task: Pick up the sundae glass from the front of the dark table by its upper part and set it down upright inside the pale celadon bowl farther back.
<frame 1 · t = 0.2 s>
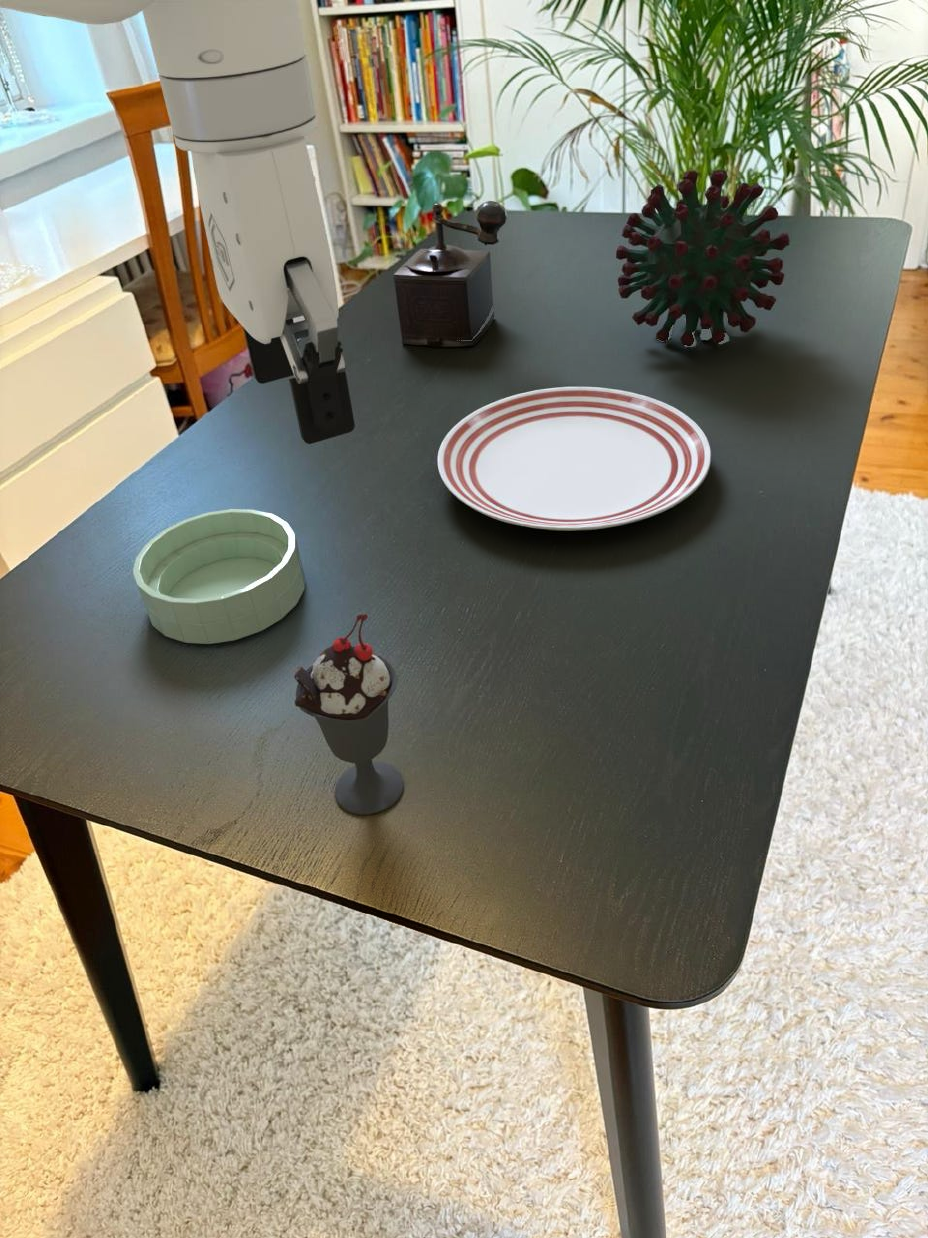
hand: (303, 404, 61), 25 cm above the table, tool pointing down, fingers open, 9 cm apart
virus model: (695, 342, 123), on the table
coffee grinder: (465, 334, 131), on the table
sundae: (370, 789, 70), on the table
dinner plate: (572, 476, 101), on the table
bowl: (228, 597, 89), on the table
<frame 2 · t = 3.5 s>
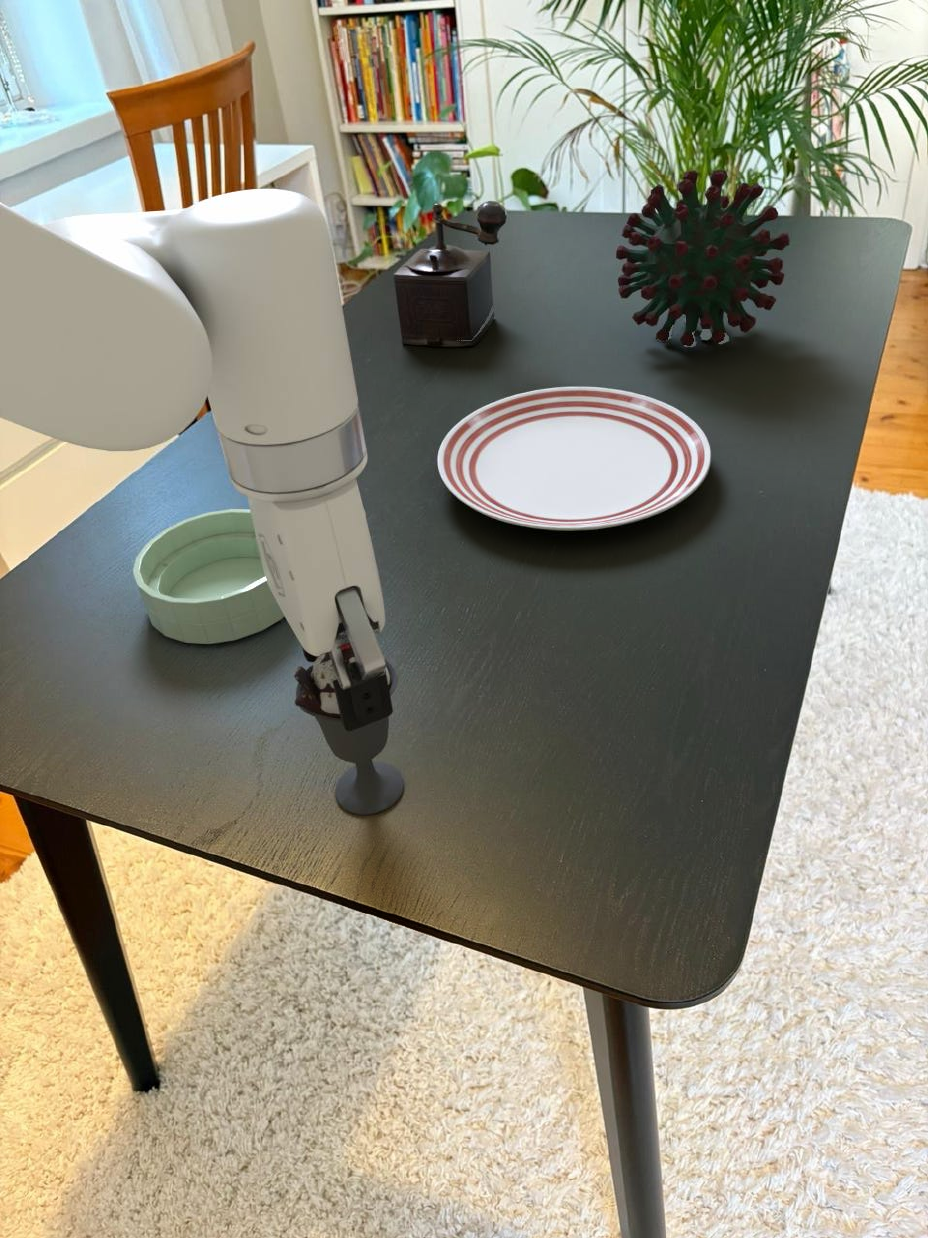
hand: (347, 684, 63), 10 cm above the table, tool pointing down, fingers closed on sundae, 6 cm apart
sundae: (370, 789, 70), on the table, touching gripper
everything else where it was.
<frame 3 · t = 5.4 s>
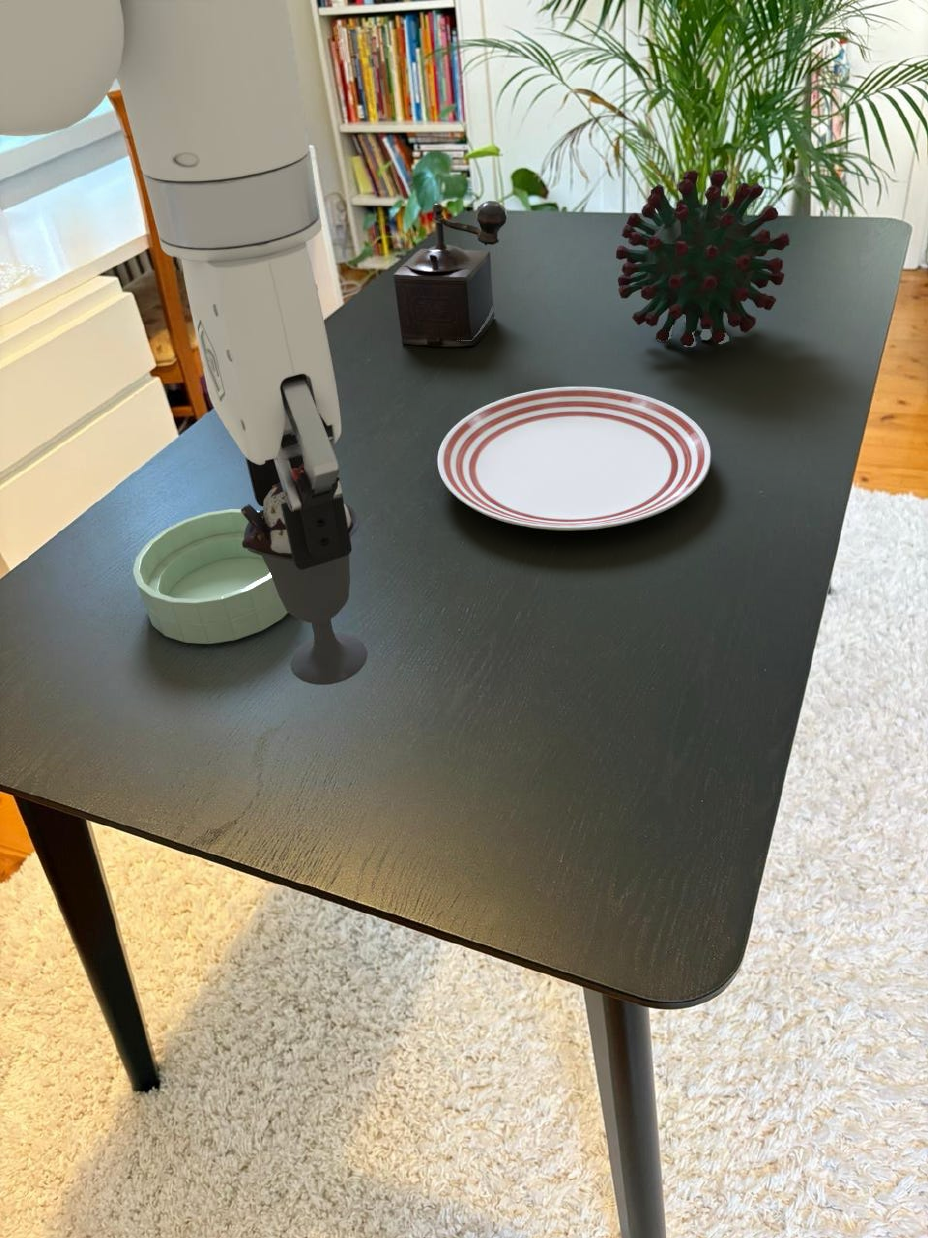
hand: (302, 525, 56), 22 cm above the table, tool pointing down, fingers closed on sundae, 6 cm apart
sundae: (330, 661, 62), point 12 cm above the table, touching gripper
everything else where it was.
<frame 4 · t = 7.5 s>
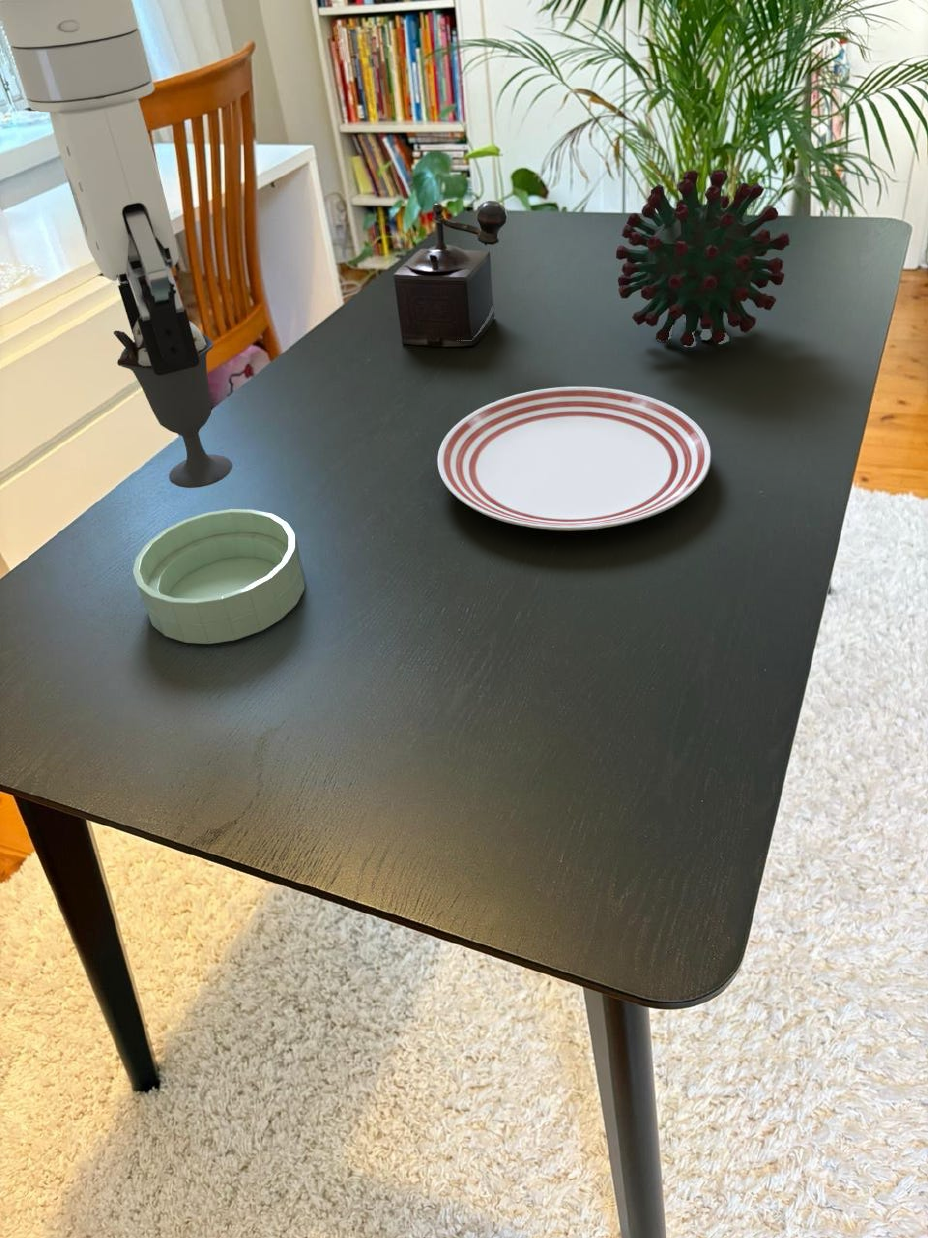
hand: (165, 349, 70), 25 cm above the table, tool pointing down, fingers closed on sundae, 6 cm apart
sundae: (202, 473, 76), point 15 cm above the table, touching gripper
everything else where it was.
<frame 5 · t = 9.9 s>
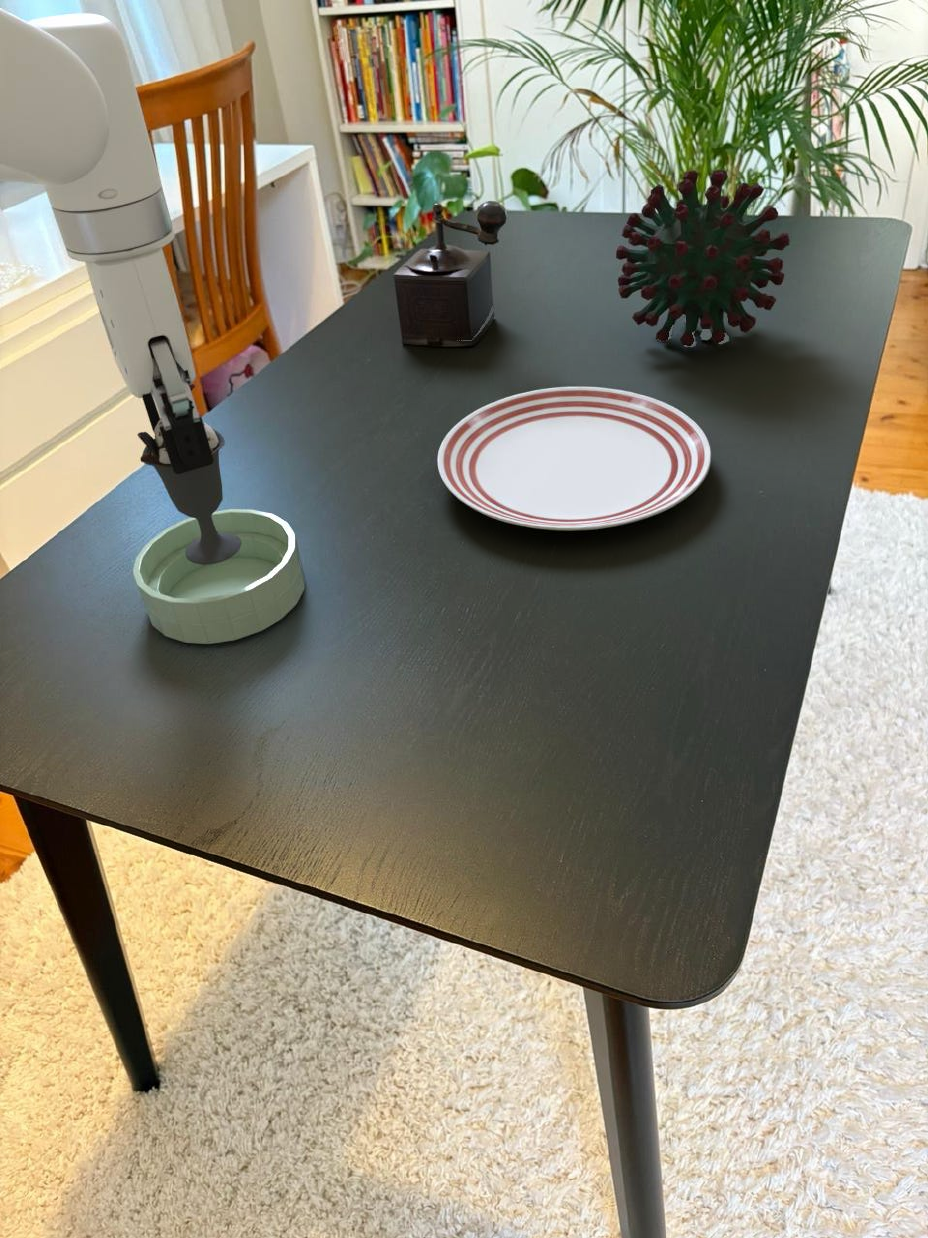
hand: (182, 446, 79), 16 cm above the table, tool pointing down, fingers closed on sundae, 6 cm apart
sundae: (214, 550, 86), point 5 cm above the table, touching gripper
everything else where it was.
when the fingers open (11 cm above the table, at t = 11.7 s): sundae stays where it is, resting on bowl.
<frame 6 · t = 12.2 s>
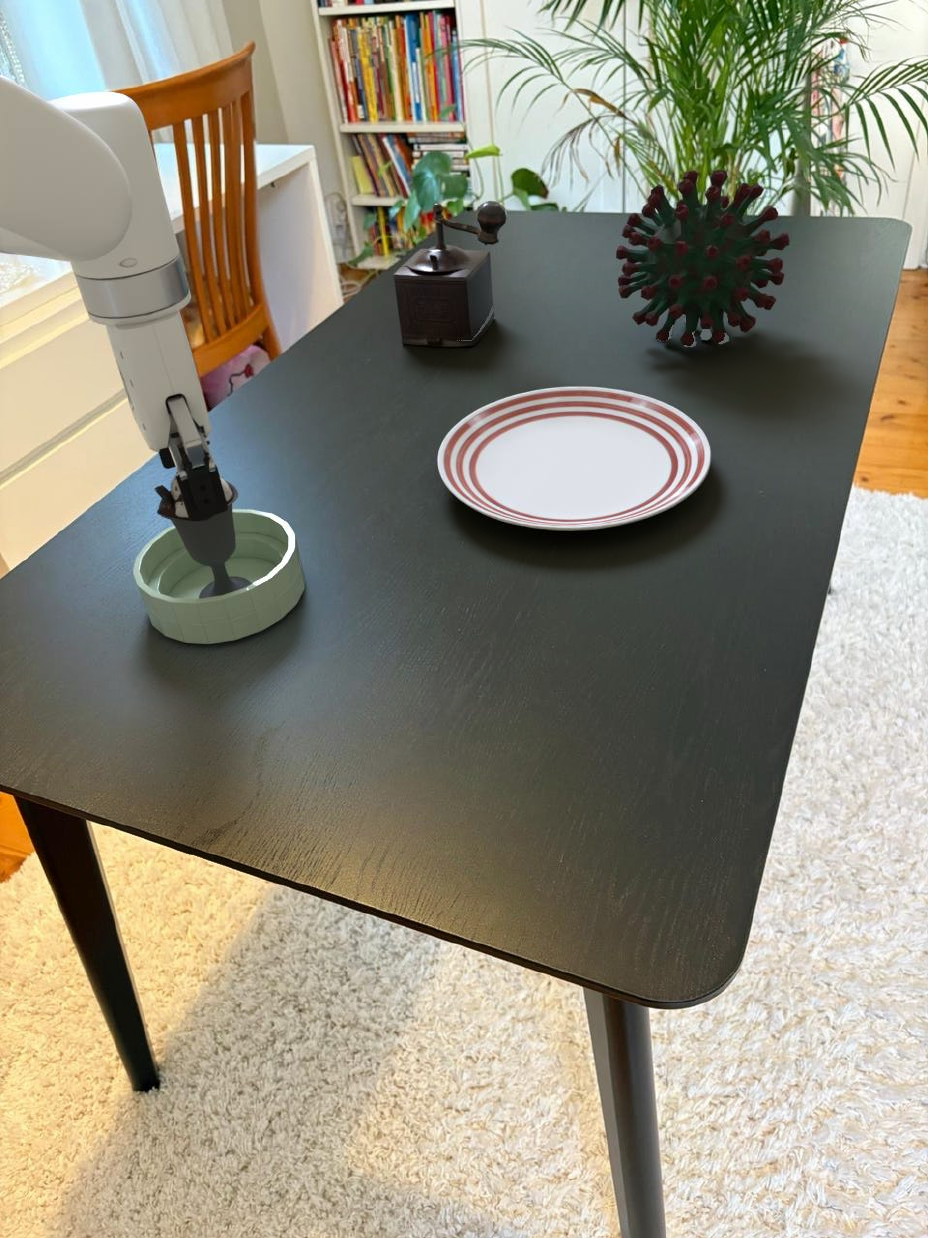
hand: (194, 488, 82), 12 cm above the table, tool pointing down, fingers open, 9 cm apart
sundae: (227, 595, 89), resting on bowl
everything else where it was.
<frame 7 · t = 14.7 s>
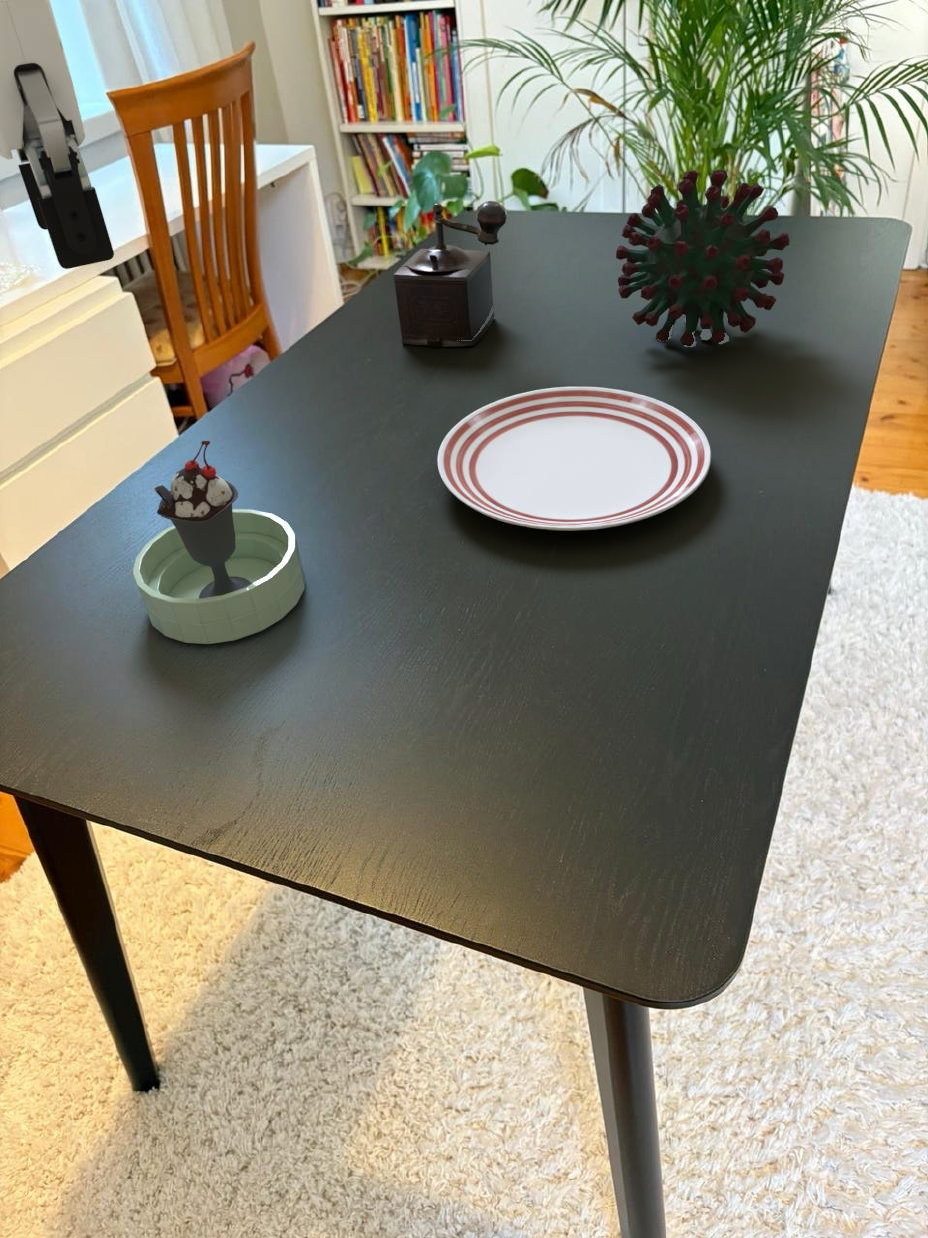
hand: (75, 242, 62), 34 cm above the table, tool pointing down, fingers open, 9 cm apart
nothing on the table moved.
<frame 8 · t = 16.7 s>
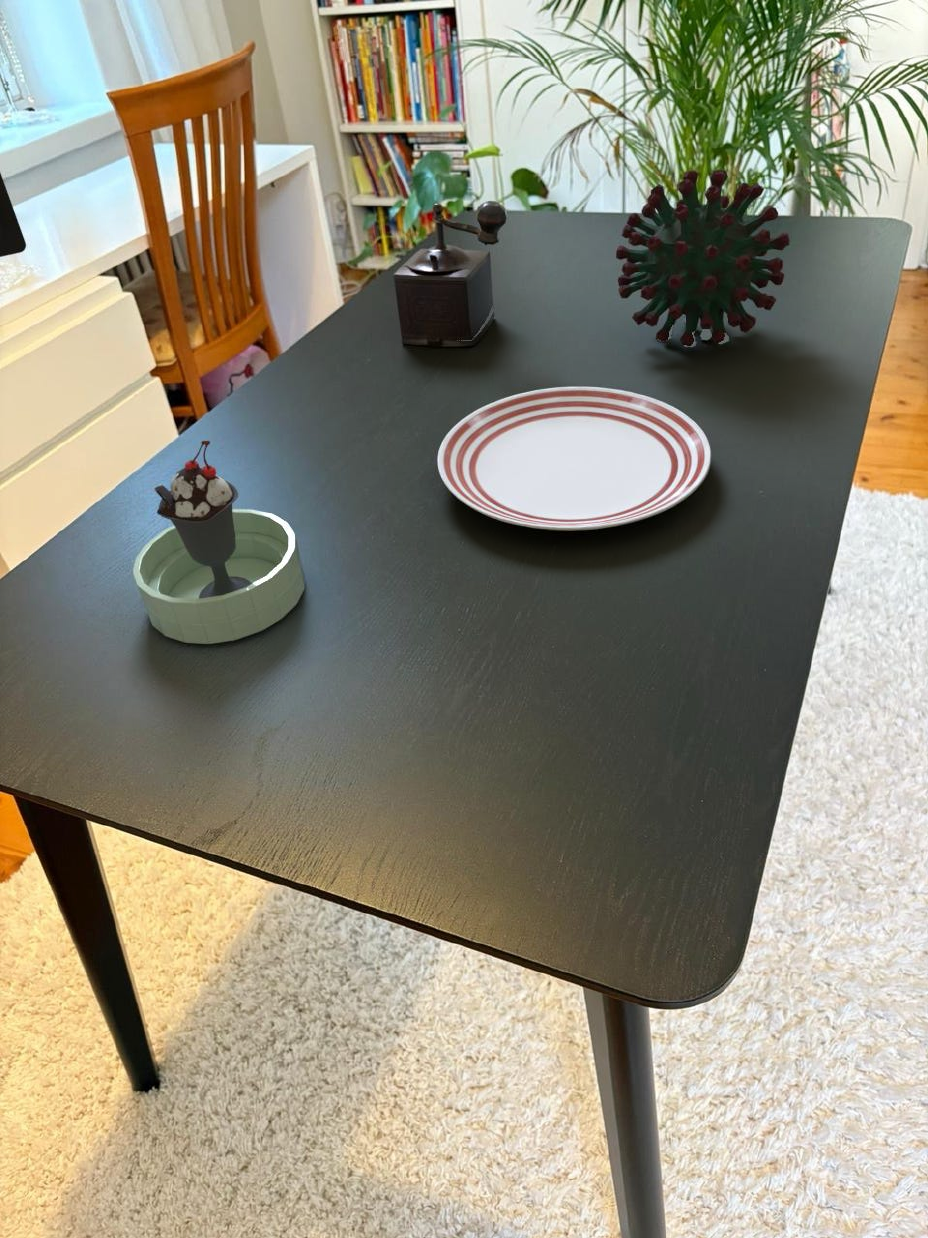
nothing on the table moved.
at the end: sundae inside the target area in the bowl (0.1 cm from its centre), point 0.3 cm above the bowl's base; sundae tilted 0°; the gripper is holding nothing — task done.
